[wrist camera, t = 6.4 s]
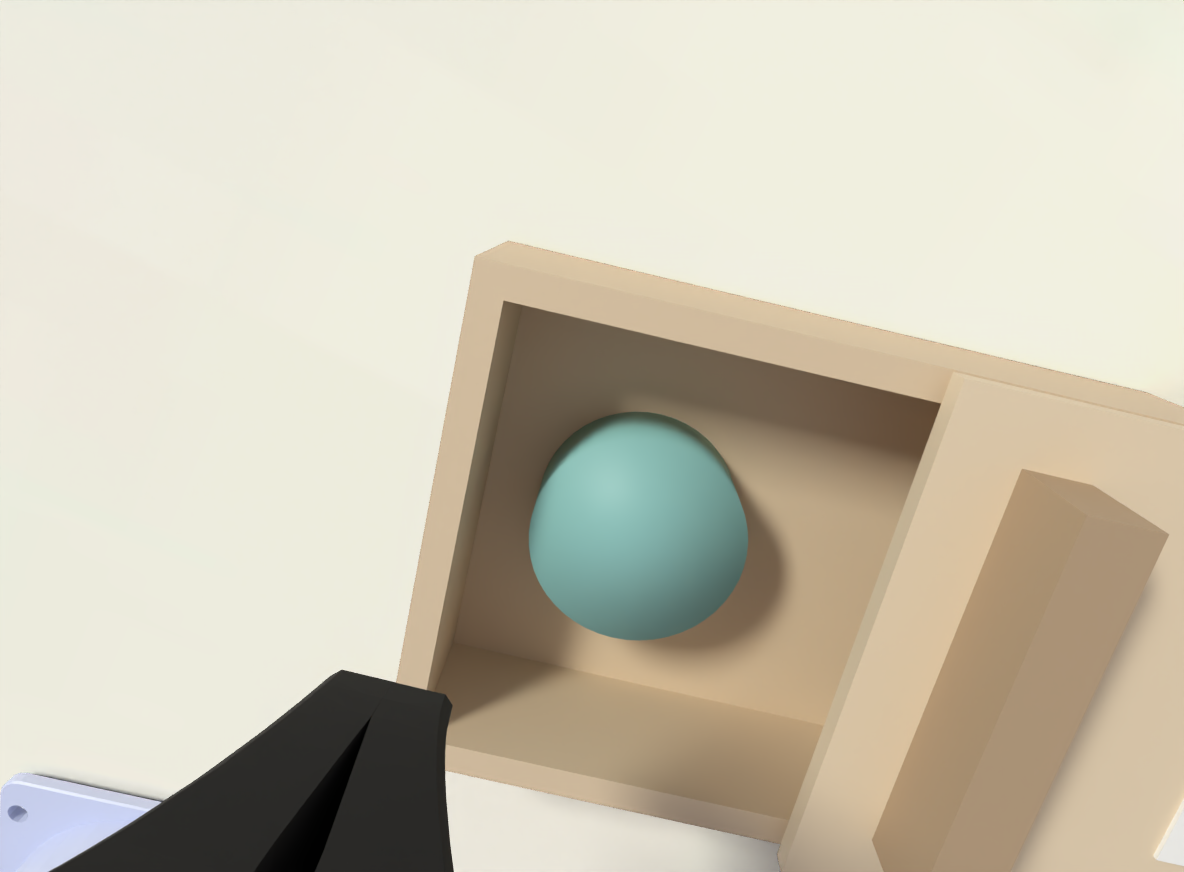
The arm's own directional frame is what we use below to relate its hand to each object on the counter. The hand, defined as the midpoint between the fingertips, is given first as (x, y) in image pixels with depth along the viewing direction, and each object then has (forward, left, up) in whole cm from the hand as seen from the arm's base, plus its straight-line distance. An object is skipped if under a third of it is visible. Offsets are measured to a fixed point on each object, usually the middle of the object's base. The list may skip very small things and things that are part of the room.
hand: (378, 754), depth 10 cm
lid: (0, -14, -6) cm, 15 cm away
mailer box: (0, -6, -10) cm, 12 cm away
